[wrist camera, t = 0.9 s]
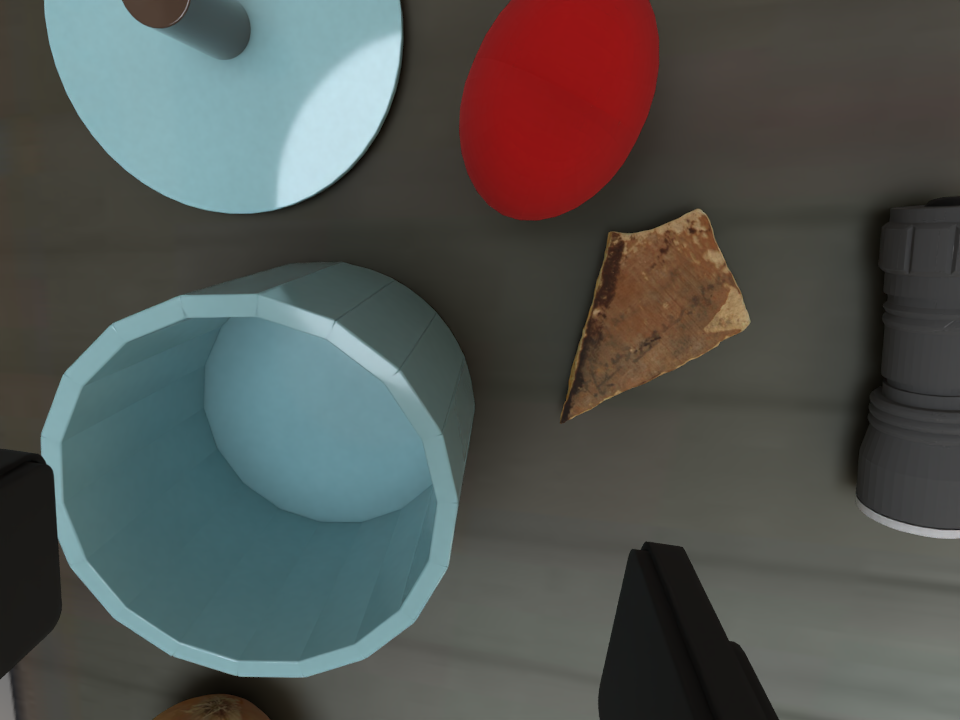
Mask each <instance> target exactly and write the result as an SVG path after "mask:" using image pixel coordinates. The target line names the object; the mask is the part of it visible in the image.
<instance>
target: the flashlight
mask: <svg viewBox="0 0 960 720" xmlns="http://www.w3.org/2000/svg"><path fill="white" fill-rule="evenodd" d="M878 266H879V267H880V268H881V269H882V270H883V271H885V277H884V289H883V292H884V293H886V294H888V297H887V301H886V302H885V303H884V304H883V307H884V309H885V310H886V311H885V312H884V314H883V316H882V320H883V322H884V324H885V330H884V341H883V353H882V364H881V375H883V376H884V377H885V378H884V379H883V386H881V387H878V388H876V389H875V390H874V391H872V392H871V394H870V396H869V398H870V401H871V402H870V404H869V406H868V407H869V411H870V412H869V414H868V420H869V422H870V424H869V427H868V429H867V432H866V434H865V437H864V439H863V441H862V444H861V446H860V450H859V462H858V474H857V486H856V497H855V501H856V505H857V507H858V508H859V509H860V510H861V511H862V512H863V513H864V514H866V515H867V516H868V517H870V518H872V519H873V520H875V521H877V522H879V523H881V524H883V525H886V526H888V527H891V528H894V529H897V530H900V531H904V532H908V533H912V534H916V535H921V536H927V537H933V538H960V196H959V197H942V198H937V199H933V200H931V201H929V202H928V203H927V204H926V205H918V206H905V207H895V208H891V210H890V220H889V222H888V223H886V224H885V225H884V226H882V230H881V241H880V253H879V264H878Z"/></svg>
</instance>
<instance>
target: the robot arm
mask: <svg viewBox="0 0 960 720" xmlns="http://www.w3.org/2000/svg"><path fill="white" fill-rule="evenodd" d="M61 610H62V600H61V584H60V567H59V550H58V534H57V517H56V500H55V484H54V473H53V470H52V468H51V467H50V466H49V465H47V464H46V461H45V460H44V458H43V457H42V456H40V455H39V454H35V453H28V452H21V451H14V450H7V449H0V679H1V678H2V677H3V676H4V675H5V674H6V673H8V672H9V671H10V670H11V669H12V668H13V667H14V666H15V665H16V664H17V663H18V662H19V661H20V660H21V659H22V658H23V657H25V656H26V655H27V654H28V653H29V652H30V651H31V650H32V649H33V648H34V647H35V646H36V645H37V644H38V643H39V642H40V641H42V640H43V639H44V638H45V637H46V636H47V635H48V634H49V633H50V632H51V631H52V630H53V628H54V627H55V625H56V624H57V622H58V620H59V617H60V614H61ZM598 709H599V717H600V720H779V719H778V717H777V715H776V713H775V711H774V709H773V707H772V705H771V703H770V701H769V699H768V697H767V695H766V693H765V691H764V689H763V687H762V685H761V684H760V682H759V680H758V678H757V676H756V674H755V672H754V670H753V668H752V666H751V664H750V662H749V660H748V658H747V656H746V654H745V652H744V651H743V650H742V648H741V647H740V645H738V644H737V643H735V642H732V641H729V640H728V638H727V636H726V634H725V632H724V630H723V627H722V625H721V623H720V621H719V619H718V617H717V615H716V613H715V611H714V609H713V607H712V605H711V603H710V601H709V599H708V597H707V595H706V593H705V591H704V589H703V586H702V584H701V582H700V580H699V578H698V576H697V574H696V572H695V570H694V568H693V566H692V564H691V562H690V560H689V558H688V556H687V554H686V552H685V550H684V549H683V547H680V546H673V545H666V544H660V543H653V542H645V543H644V544H643V546H642V549H641V550H636V549H632V550H631V551H630V553H629V557H628V561H627V565H626V570H625V574H624V579H623V583H622V588H621V592H620V597H619V601H618V606H617V610H616V615H615V619H614V624H613V628H612V633H611V638H610V642H609V647H608V651H607V656H606V660H605V665H604V669H603V674H602V678H601V683H600V688H599V696H598Z"/></svg>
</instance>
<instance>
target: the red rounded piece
mask: <svg viewBox="0 0 960 720" xmlns="http://www.w3.org/2000/svg"><path fill="white" fill-rule="evenodd" d="M658 68H659V36H658V30H657V25H656V19H655V14H654V12H653V9H652V7H651V5H650V2H649V0H511V1H510V2H509V4H508V5H507V6H506V7H505V8H504V9H503V10H502V11H501V13H500V14H499V15H498V17H497V19H496V20H495V22H494V23H493V25H492V26H491V28H490V29H489V31H488V32H487V34H486V35H485V37H484V40H483V42H482V44H481V46H480V48H479V50H478V53H477V55H476V57H475V59H474V61H473V64H472V67H471V69H470V72H469V75H468V77H467V80H466V82H465V86H464V91H463V96H462V101H461V106H460V122H459V134H460V143H461V152H462V156H463V159H464V163H465V166H466V169H467V173H468V175H469V177H470V179H471V181H472V183H473V185H474V187H475V189H476V191H477V192H478V193H479V194H480V196H481V197H482V198H483V199H484V200H485V201H486V203H487V204H488V205H489V206H491V207H492V208H493V209H495V210H496V211H498V212H499V213H501V214H502V215H504V216H508V217H511V218H514V219H518V220H542V219H547V218H552V217H556V216H559V215H561V214H563V213H566V212H568V211H570V210H573V209H575V208H577V207H578V206H580V205H581V204H583V203H584V202H586V201H587V200H589V199H590V198H592V197H593V196H594V195H595V194H596V193H597V192H599V191H600V190H601V189H602V188H603V187H604V186H605V185H606V184H607V183H608V182H609V181H610V180H611V179H612V178H613V176H614V175H615V174H616V172H617V171H618V170H619V169H620V167H621V166H622V165H623V164H624V162H625V160H626V159H627V157H628V155H629V153H630V151H631V149H632V148H633V146H634V144H635V142H636V140H637V138H638V136H639V134H640V132H641V129H642V127H643V125H644V123H645V121H646V119H647V116H648V113H649V110H650V106H651V103H652V100H653V96H654V93H655V88H656V82H657V75H658Z"/></svg>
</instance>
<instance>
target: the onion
mask: <svg viewBox="0 0 960 720" xmlns="http://www.w3.org/2000/svg"><path fill="white" fill-rule="evenodd" d="M153 720H270V719H269V717H268V716H267V715H266V714H265V713H264V712H262V711H261V710H260V709H259V708H257V707H256V706H255V705H254V704H252V703H251V702H249V701H248V700H246V699H243V698H240V697H237V696H234V695H228V694H211V695H204V696H200V697H196V698H191V699H188V700H185V701H183V702H180V703H178V704H176V705H174V706H172V707H170V708H168V709H167V710H165V711H164V712H162V713H161V714H159V715H158V716H156V717H155V718H154V719H153Z"/></svg>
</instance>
